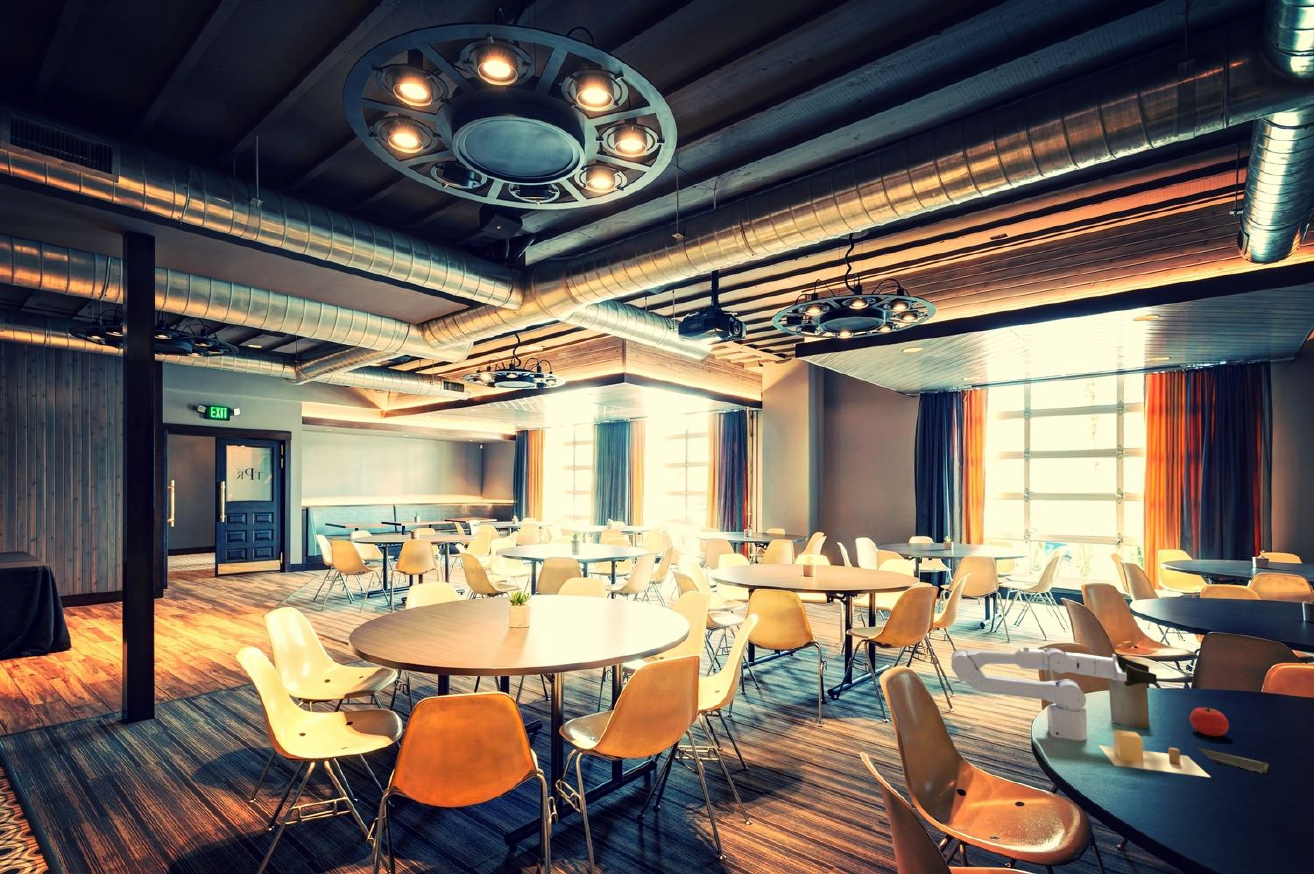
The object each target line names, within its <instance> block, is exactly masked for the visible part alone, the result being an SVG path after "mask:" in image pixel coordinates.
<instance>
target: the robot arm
mask: <svg viewBox="0 0 1314 874" xmlns="http://www.w3.org/2000/svg"><path fill="white" fill-rule="evenodd" d="M990 664H991V665H992V664H993V665H998V664H999V665H1017V666H1018V667H1019V668H1020V669H1022V670H1036V671H1037V670H1038V671H1039V670H1040V671H1048V670H1051V671H1053V672H1055V673H1057V674H1061V675H1062V674H1065V673H1073V674H1077V675H1084V676H1091V677H1096V678H1104V679H1108V680H1109V679H1113V680H1121V681H1124V684H1125V686H1132V685H1135V684H1141V683H1146V684H1155V683H1156V684H1157V674H1156V673H1153V672H1150V666H1149V665H1147V664H1144V663H1140V662H1136V661H1133V660H1130V659H1128V658H1127V657H1124V656H1122V655H1120V654H1117V655H1116V654H1115V653H1112V654H1111V657H1107V656H1099V655H1092V654H1087V653H1086V654H1085V653H1078V652H1067V651H1065V652H1064V651H1062V650H1061V649H1059V648H1054V647H1050V648H1047V647H1043V649H1040V648H1039V649H1038V648H1036V649H1034V648H1029V646H1023V648H1018V649H1017V650H1016V651H1015V652H1012V651H1011V652H1010V651H1000V650H999V651H998V650H990V649H989V650H988V649H987V650H986V649H976V648H969V649H963V648H961V649H956V650H955V651H954V652H952V654H951V664H950V665H951V669H952V671H953V673H954V675H956V676H957V678H958V679H959V680H961V681H963V682H964V683H966V684H967V685H969V686H970V687H971V688H974V690H976V691H978V692H982V693H989V694H996V695H1004V696H1010V697H1019V698H1027V699H1036V700H1042V701H1043V700H1044V701H1047V702H1050V703H1052V704H1048V705H1047V712H1046V713H1047V730H1048V732H1049V734H1050V736H1051V737H1052V738H1059V739H1066V740H1071V741H1086V740H1088V728H1087V726H1088V725H1087V710H1086V709H1087V707H1086V706H1085V705H1086V702H1087V698H1086V694H1085V693H1084V692H1083V691H1082V690H1081V687H1080V686H1079V684H1078V683H1077V682H1076V681H1074V680H1072V679H1069V678H1064V679H1061V680H1048V681H1041V680H1034V679H1033V680H1032V679H1025V678H1015V677H1008V676H1001V675H1000V676H999V675H990V674H986V673H984V671H983V670H982V669H981V668H982V667H985V665H990Z"/></svg>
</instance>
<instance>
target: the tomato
mask: <svg viewBox="0 0 1314 874" xmlns="http://www.w3.org/2000/svg"><path fill="white" fill-rule="evenodd" d="M1189 721H1190V724H1191V726H1192V727H1193V728H1194V729H1195V730H1196V731H1198V732H1199V733H1201V734H1203V735H1205V736H1208V735H1209V737H1221V736H1223V735H1224V734H1226V733H1227V732H1228V731H1229V727H1230V724H1229V721H1228V719H1227V718H1226V716H1225V715H1224V714H1223V713H1222V712H1221V711H1218V709H1217V710H1216V709H1214V708H1210V706H1207V707H1197V708H1194V709H1193V710H1192V711H1191V713H1190V715H1189Z"/></svg>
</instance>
